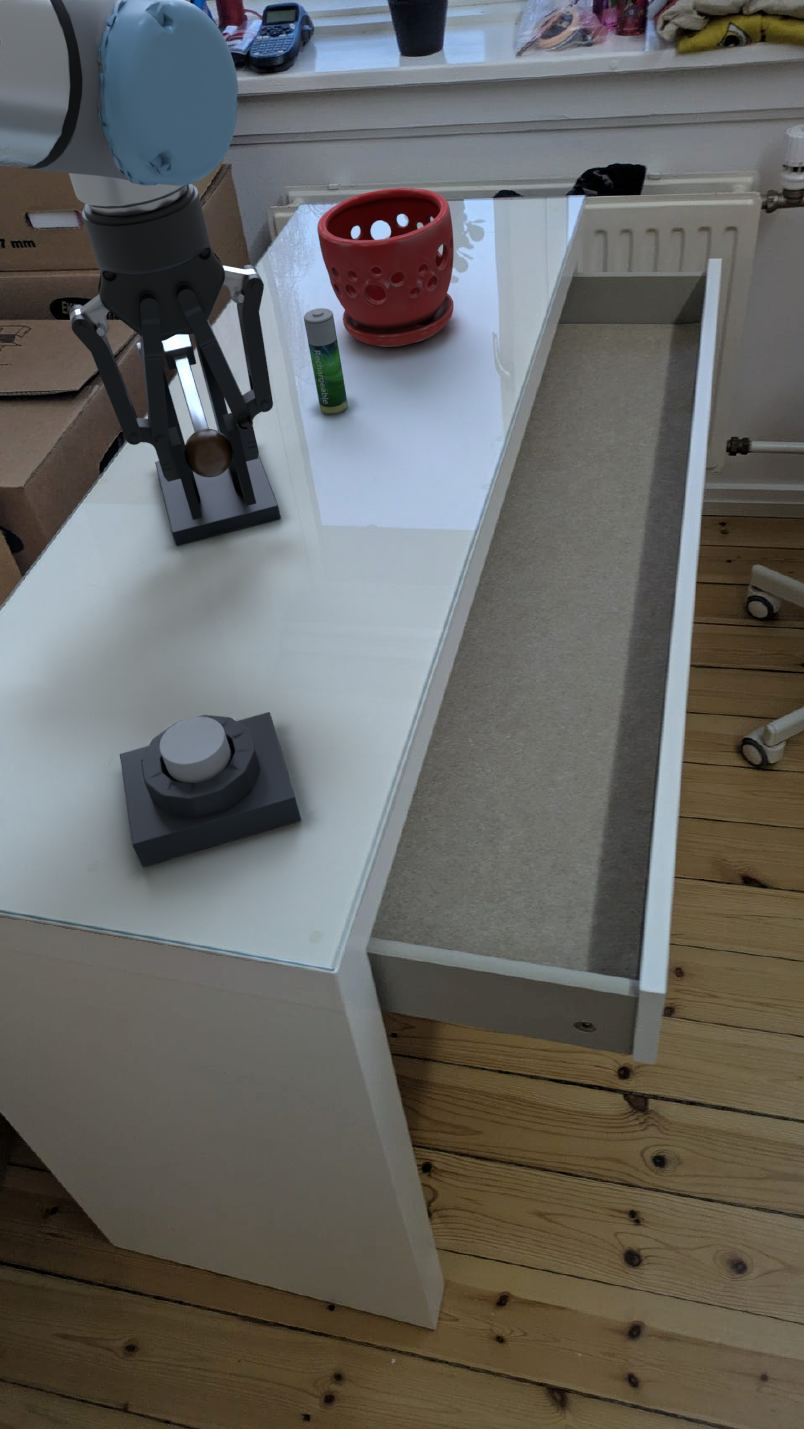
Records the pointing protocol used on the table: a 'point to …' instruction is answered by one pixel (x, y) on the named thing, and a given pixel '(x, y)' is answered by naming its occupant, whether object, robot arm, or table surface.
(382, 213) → the flower pot
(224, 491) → the lever bracket
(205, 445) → the flush lever
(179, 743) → the flush button
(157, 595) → the table surface
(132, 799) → the button housing
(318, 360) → the battery
